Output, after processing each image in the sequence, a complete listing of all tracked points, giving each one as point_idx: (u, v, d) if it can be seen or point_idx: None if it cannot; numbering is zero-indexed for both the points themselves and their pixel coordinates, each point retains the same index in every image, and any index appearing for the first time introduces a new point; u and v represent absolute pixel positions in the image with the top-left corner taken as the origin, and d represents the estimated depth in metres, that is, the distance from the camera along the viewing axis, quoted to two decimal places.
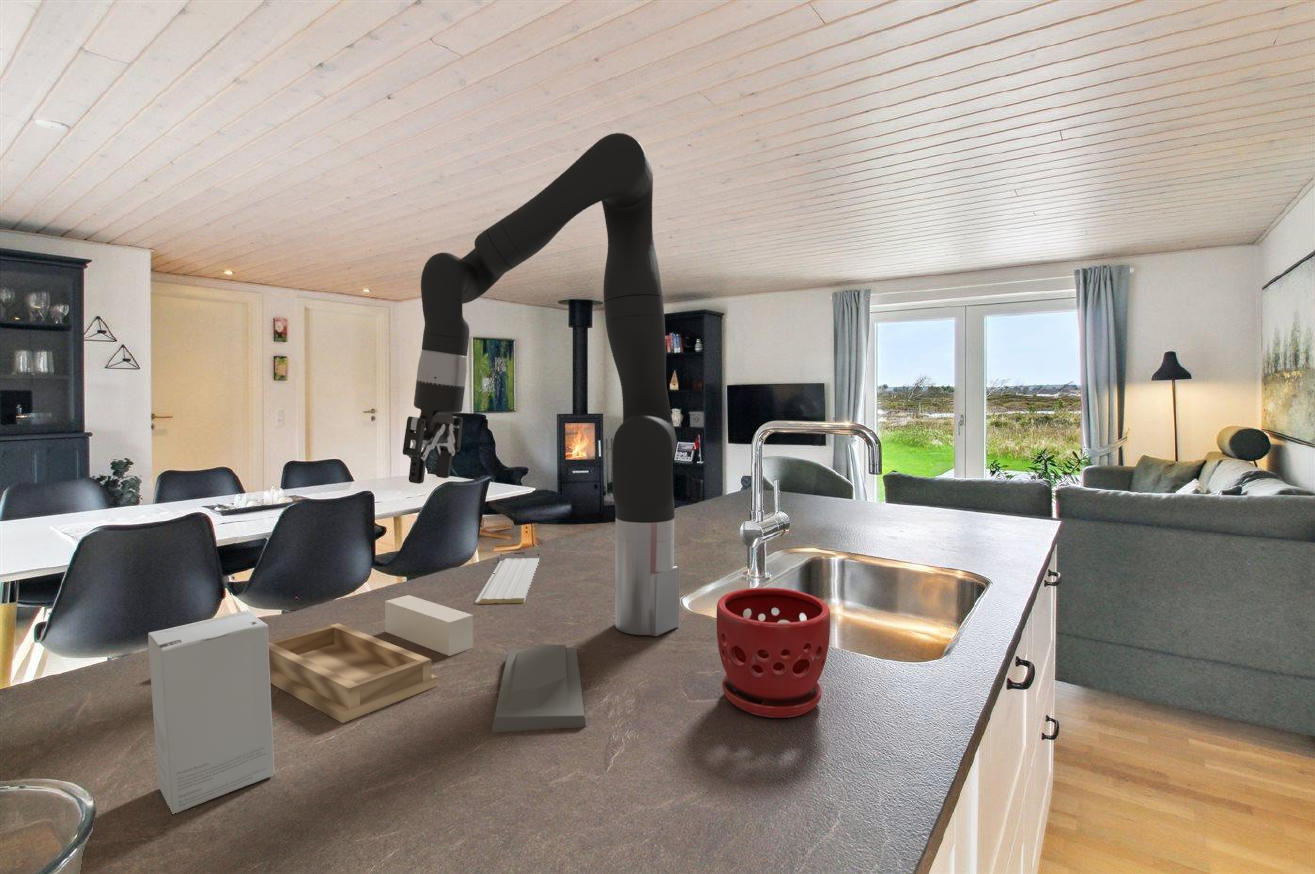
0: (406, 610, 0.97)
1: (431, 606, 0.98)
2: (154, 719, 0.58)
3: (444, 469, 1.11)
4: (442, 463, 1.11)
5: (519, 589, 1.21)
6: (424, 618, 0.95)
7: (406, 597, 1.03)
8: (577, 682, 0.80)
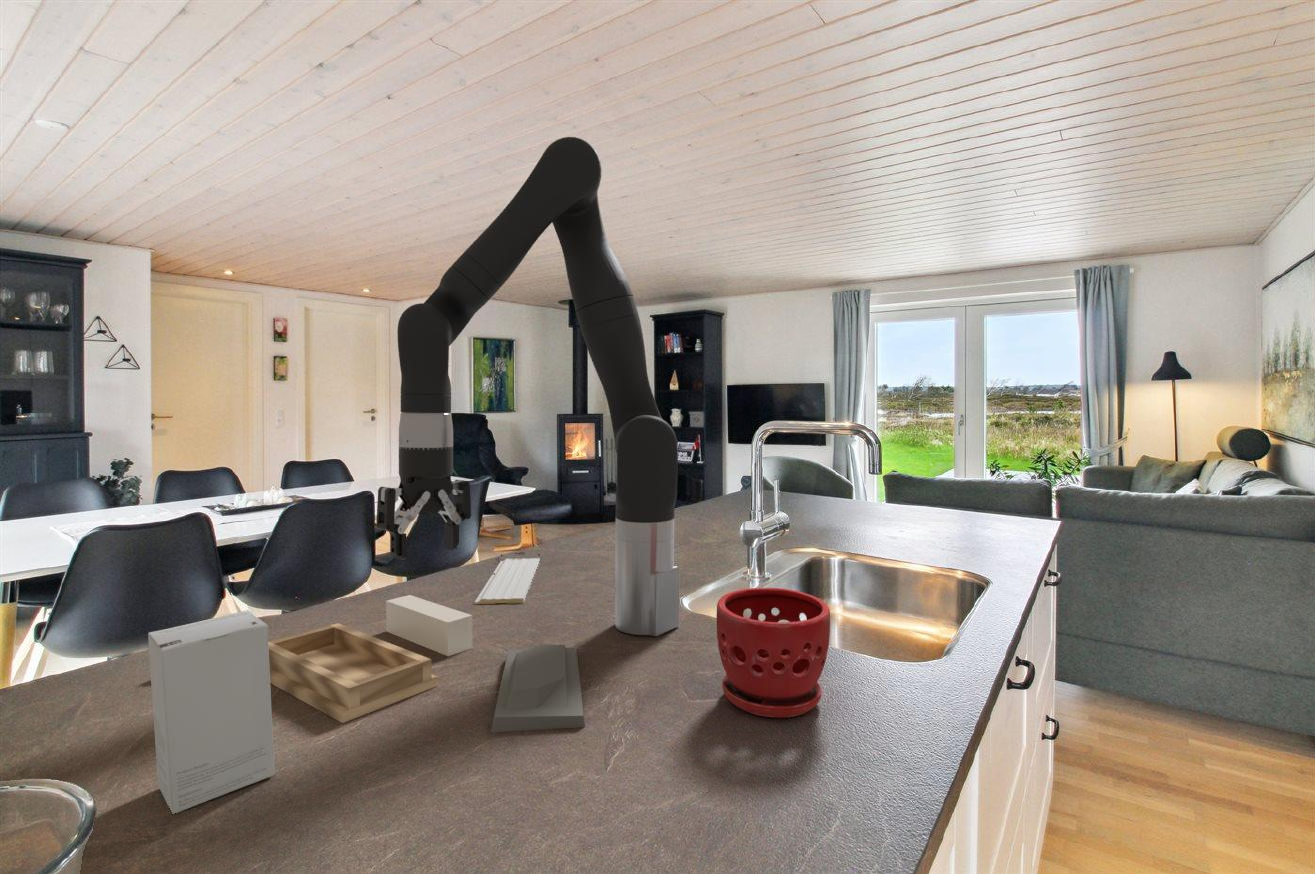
0: (406, 610, 0.97)
1: (431, 606, 0.98)
2: (154, 719, 0.58)
3: (450, 540, 1.00)
4: (448, 534, 1.00)
5: (519, 589, 1.21)
6: (424, 618, 0.95)
7: (407, 597, 1.03)
8: (576, 683, 0.80)
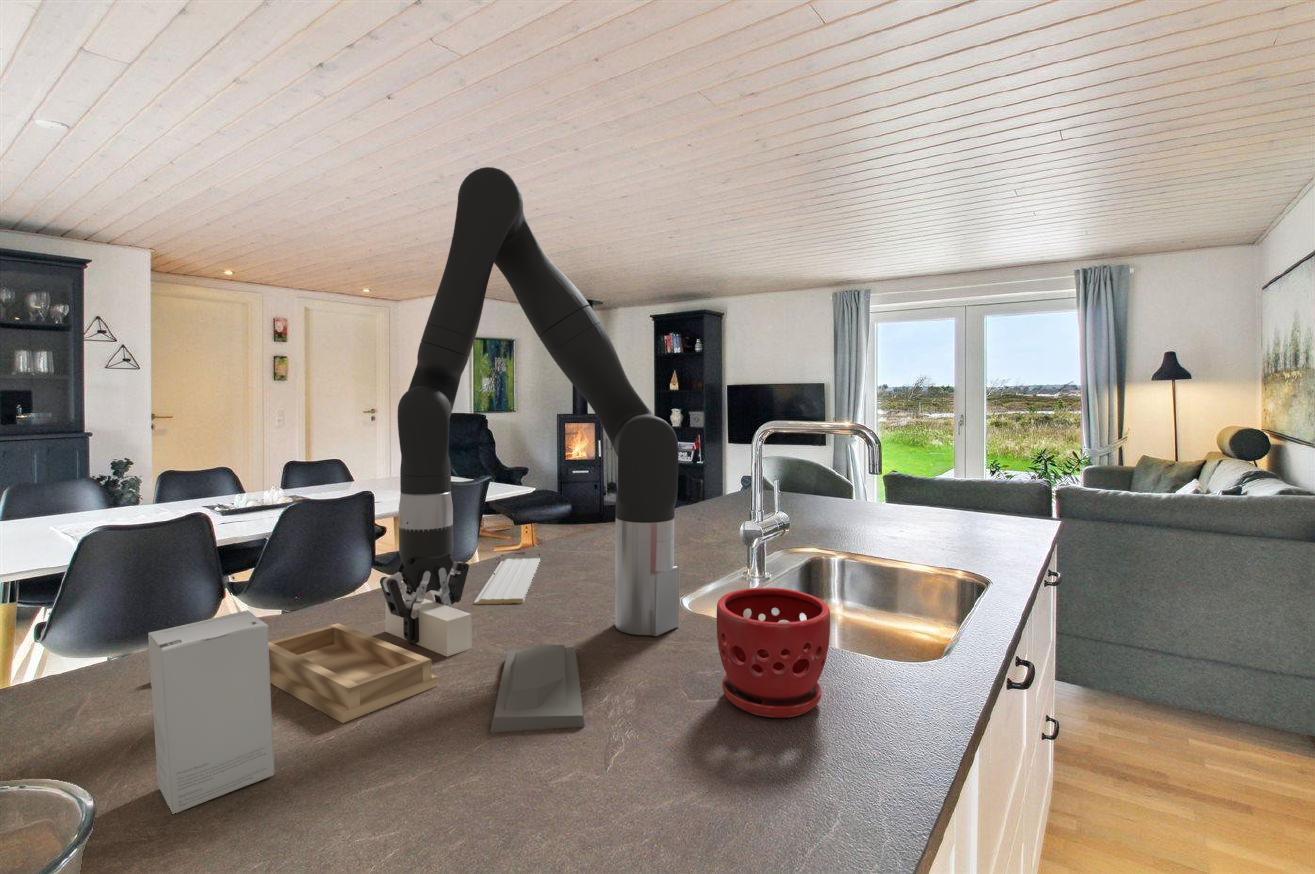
0: None
1: (430, 605, 0.98)
2: (154, 719, 0.58)
3: None
4: None
5: (519, 589, 1.21)
6: (423, 617, 0.94)
7: None
8: (576, 682, 0.80)
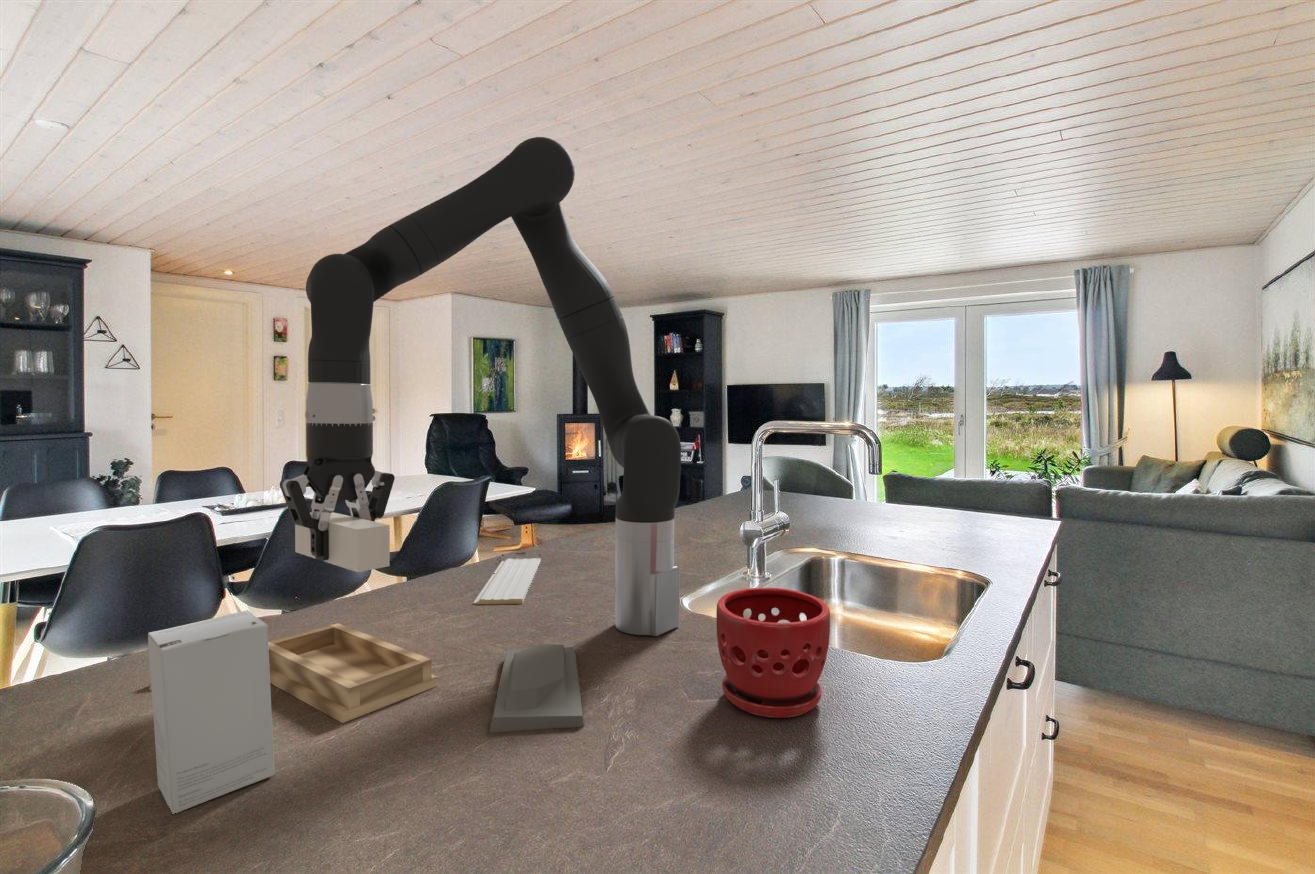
0: None
1: (345, 518, 0.83)
2: (154, 719, 0.58)
3: None
4: None
5: (518, 590, 1.21)
6: (333, 529, 0.80)
7: None
8: (575, 682, 0.80)
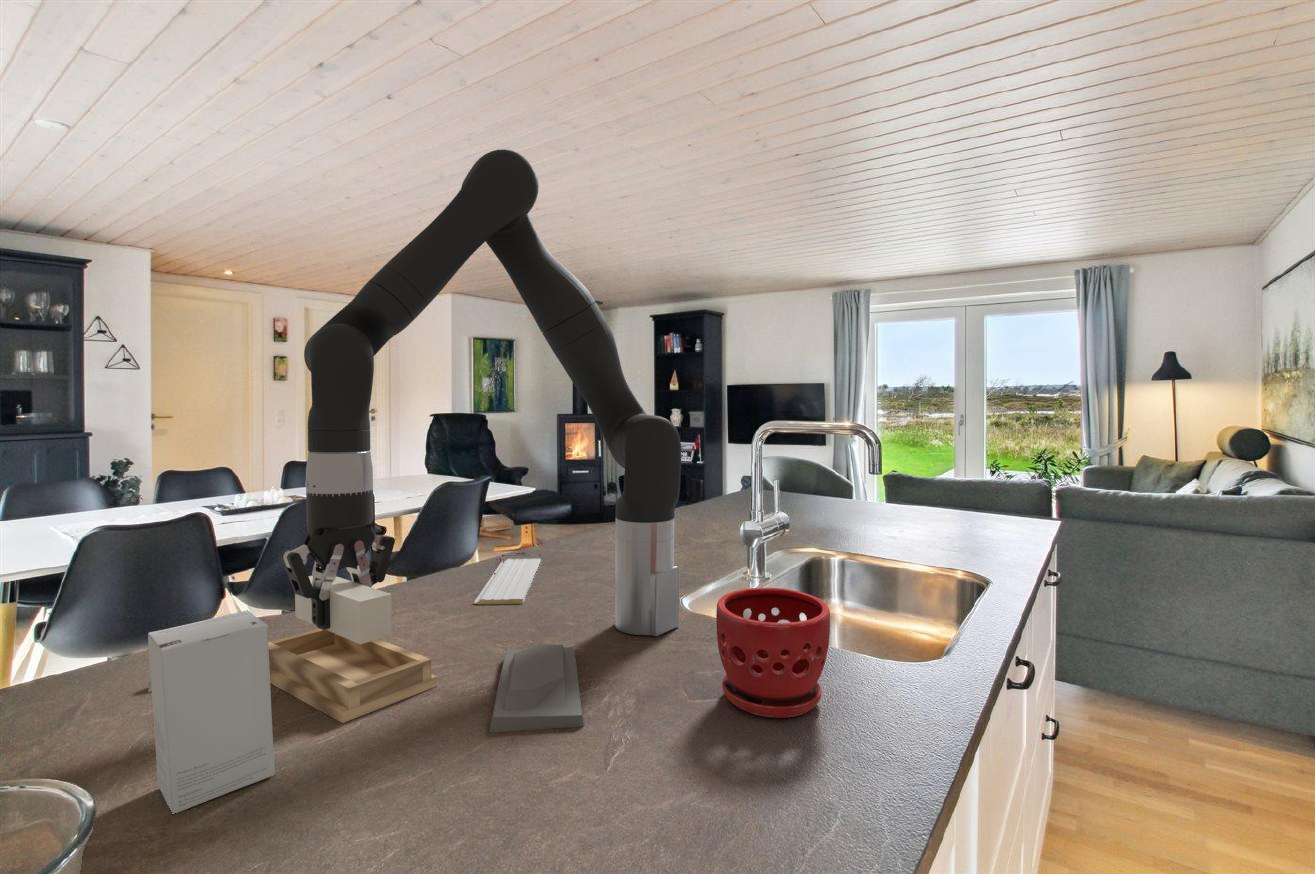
0: None
1: (346, 585, 0.83)
2: (154, 719, 0.58)
3: None
4: None
5: (519, 590, 1.21)
6: (334, 598, 0.80)
7: None
8: (575, 682, 0.80)
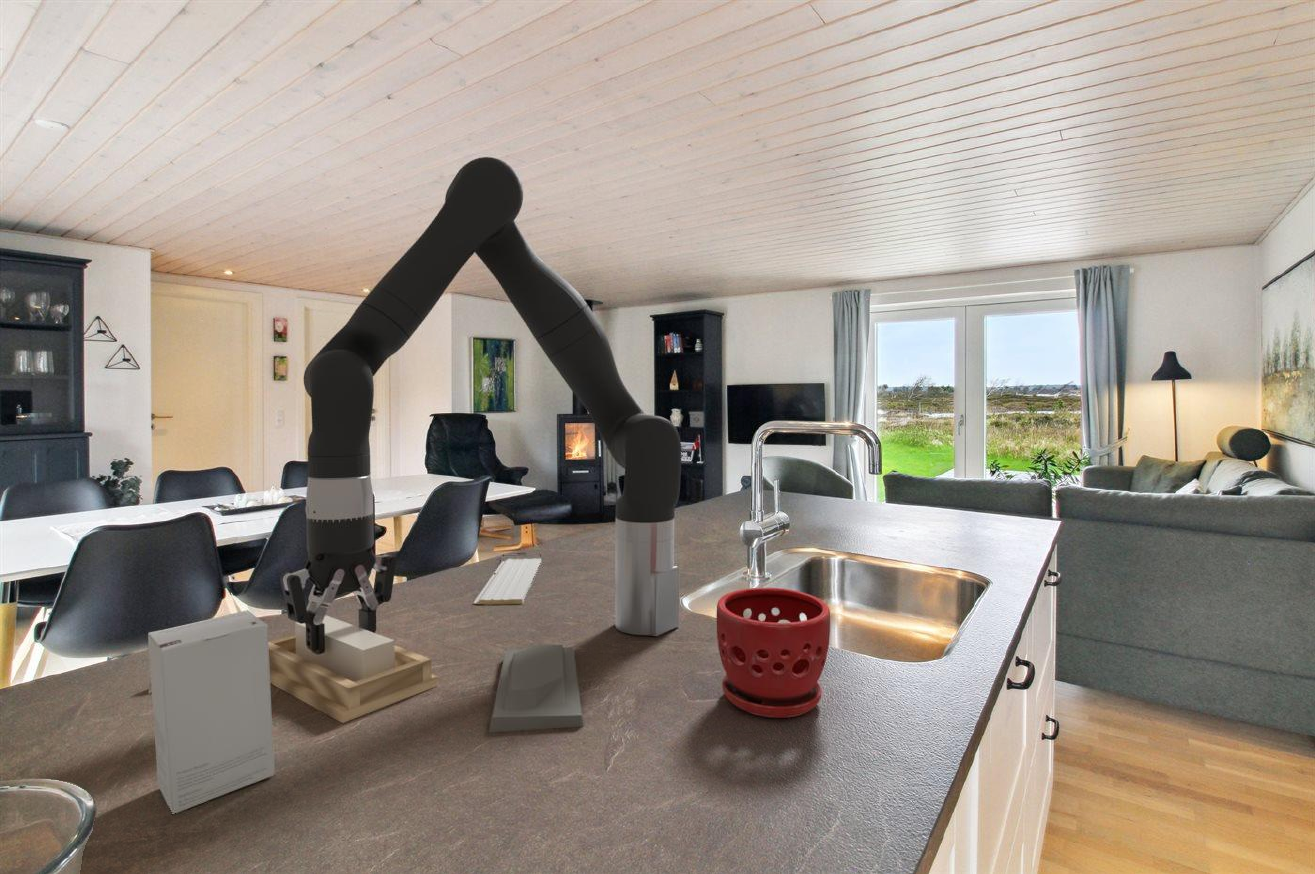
0: None
1: (348, 629, 0.83)
2: (154, 719, 0.58)
3: (364, 628, 0.85)
4: (362, 621, 0.85)
5: (518, 590, 1.20)
6: (337, 645, 0.80)
7: None
8: (574, 682, 0.80)
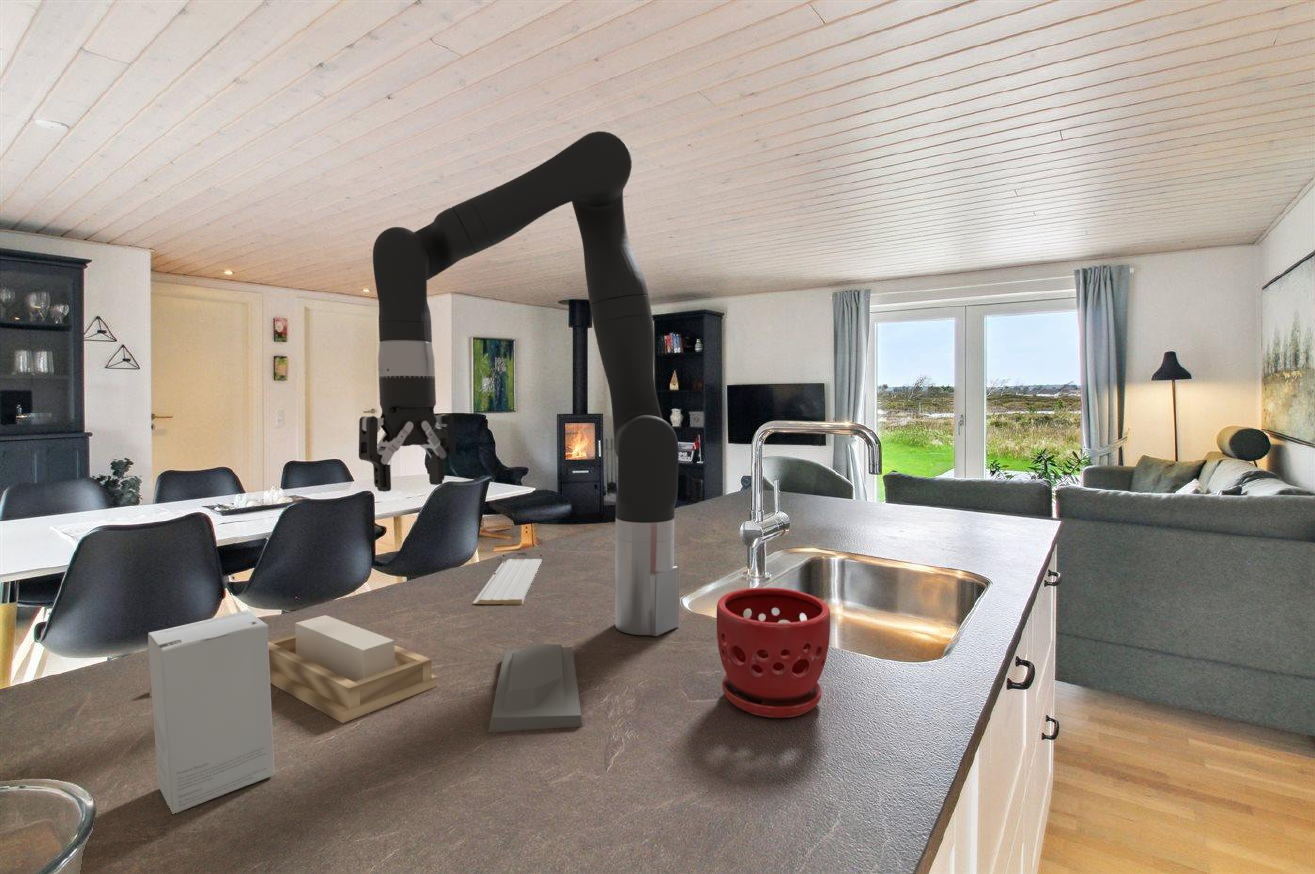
0: (317, 634, 0.83)
1: (348, 629, 0.83)
2: (154, 719, 0.58)
3: (435, 475, 0.98)
4: (433, 469, 0.98)
5: (518, 590, 1.20)
6: (337, 645, 0.80)
7: (322, 618, 0.88)
8: (573, 682, 0.80)
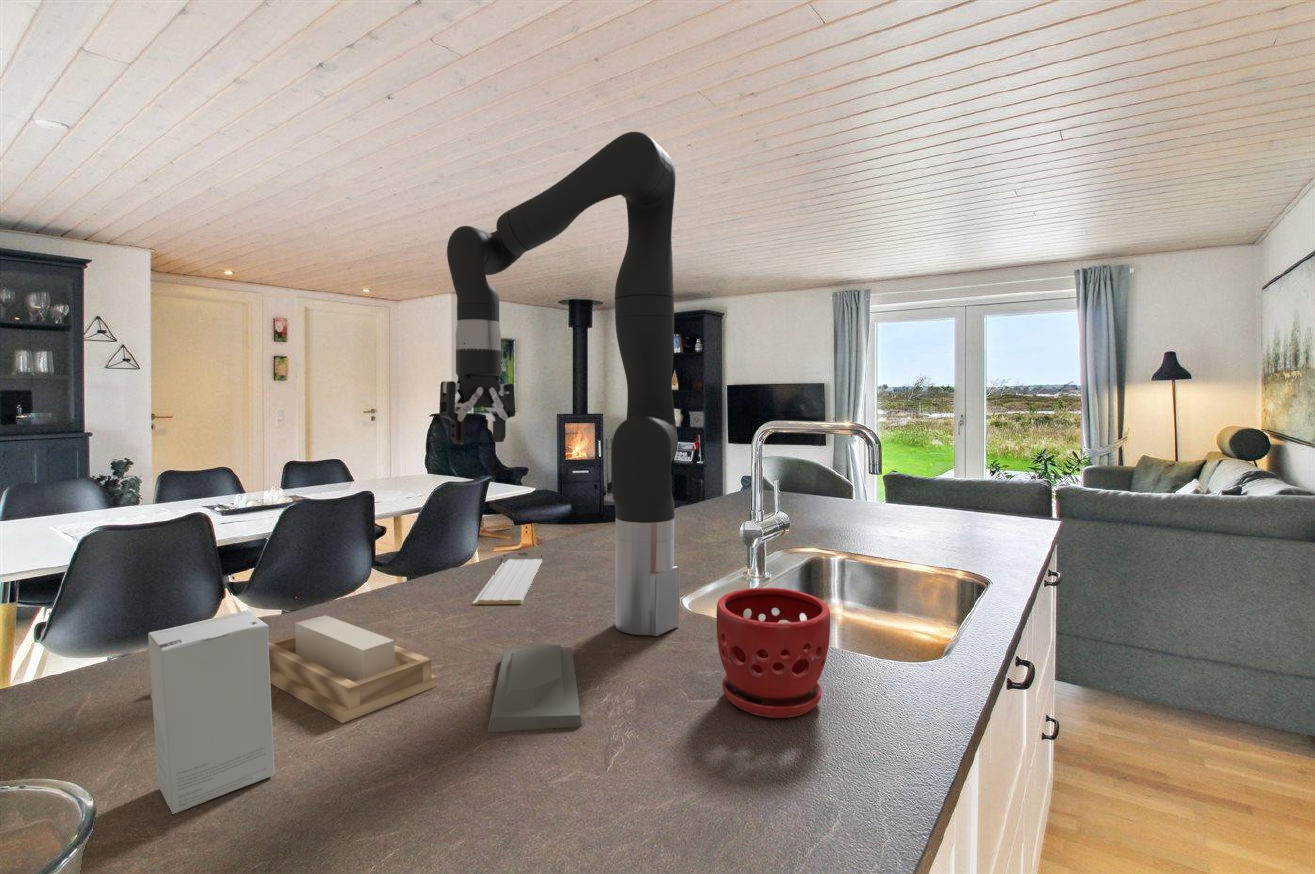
0: (317, 634, 0.83)
1: (348, 629, 0.83)
2: (154, 719, 0.58)
3: (498, 433, 1.17)
4: (496, 428, 1.17)
5: (518, 591, 1.20)
6: (337, 645, 0.80)
7: (322, 618, 0.88)
8: (573, 682, 0.80)
